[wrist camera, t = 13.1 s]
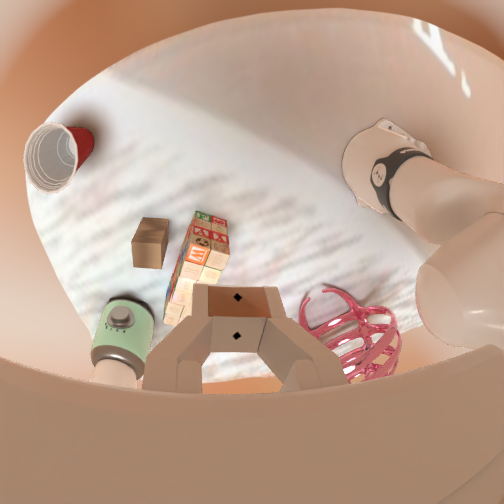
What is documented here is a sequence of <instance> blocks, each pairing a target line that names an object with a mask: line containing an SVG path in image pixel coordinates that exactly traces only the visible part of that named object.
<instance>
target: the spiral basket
mask: <svg viewBox="0 0 504 504" xmlns="http://www.w3.org/2000/svg"><path fill="white" fill-rule="evenodd" d="M322 292H323V293H326V292H333V293H336V294H338V295H339V296H341V297H342V298H343V299H344V300H345V301H346V302H347V303H348V305H349V306H350V308H351V311H350V312H348V313H346V314H343V315H341V316H339V317H336V318H334V319H332V320H330V321H328V322H327V323H325V324H323V325H321V326H320V327H318V328H317V329H315V330H312V331H311V330H310V329H309V327H308V324H307V321H306V315H305V309H306V305H307V303H308V302H309V301H310V297H308V298H306V299H305V301H304V302H303V304H302V306H301V308H300V313H299V323H300V326H301V327H303V328H304V329H305V330H306V331H308V332H309V333H310V334H311V335H312V336H314V337H315V338H316V339H317V338H318V337H320V336H321V335H323V334H324V333H326V332H328V331H329V330H331V329H333V328H335V327H337V326H339V325H341V324H344V323H346V322H348V321H351V320H357V321H358V323H359V326H358V328H356V329H354V330H351V331H349V332H347V333H344V334H342V335H340V336H338V337H336V338H335V339H333V340H331V341H329V342H328V343H326V344H325V346H326V347H327V348H329V349H330V350H331V351H332V350H333V349H335V348H336V347H338V346H340V345H342V344H344V343H346V342H348V341H351V340H353V339H355V338H359V337H362V338H363V340H364V345H363V346H362V347H360V348H357V349H354V350H352V351H350V352H348V353H346V354H344V355H342V356H340V357H339V359H340V362H341V364H342V367H343V369H344V372H345V374H346V377H347V379H348V382H349V384H350V383H351V382H350V380H351V379H353V378H355V377H357V376H359V375H361V374H365V379H364V380H362V381H367V380H372V379H377V378H381V377H386V376H390V375H393V374H394V372H395V370H396V367H397V364H398V356H399V353H400V351H401V344H402V341H401V340H402V339H401V334H400V332H399V330H398V329H397V319H396V317H395V315H394V313H393V312H392V311H391V310H390V309H389V308H387V307H384V306H369V307H361V306H360V305H359V304H358V303H357V302H356V301H355V300H354V299H353V298H352V297H351V296H350V295H349V294H347V293H346V292H344V291H342V290H339V289H335V288H326V289H323V290H322ZM374 314H384V315H388V316H390V317H391V322H390V325H389V324H369V323H368V321H367V316H369V315H374ZM375 333H384V334H383V336H382V337H381V338H380V339H379V340H378V341H377V342H376V343H373V342H372V335H373V334H375ZM394 337H395V338H396V339H397V341H398V343H397V347H396V349H395V348H394V347H392V346H390V345H389V344H390V343H391V341H392V339H393V338H394ZM381 353H382V354H386V355H388V356H390V358H389V359H388V360H387V362H386V363H385V364H384V365H380V364H374V363H372V361H373V360H374V359H376V358H377V357H378V356H379V355H380V354H381ZM392 366H393V367H392ZM391 367H392V369H391V372H390V373H389V375H388V370H389V369H390V368H391ZM370 373H373V374H372V375H370V376H369V374H370ZM368 376H369V377H368ZM362 381H360V382H362Z"/></svg>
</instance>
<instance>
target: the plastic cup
mask: <svg viewBox="0 0 504 504" xmlns="http://www.w3.org/2000/svg"><path fill="white" fill-rule="evenodd" d="M93 146H94V138H93V136H92V134H91V132H90V131H88V130H87V129H84V128H76V127H65V126H64V125H62V124H58V123H54V122H49V123H45V124H42V125H40V126H39V127H38V128H36V129H35V130H34V131H33V132H32V133H31V135H30V137H29V139H28V141H27V143H26V145H25V152H24V157H23V159H24V168H25V172H26V175H27V177H28V179H29V181H30V183H31V184H32V185H33V186H34V187H35V188H36V189H37V190H38V191H41V192H44V193H46V194H52V193H58V192H60V191H61V190H63V189H64V188H65V187H67V186H68V185H69V183H70V181H71V180H72V178H73V176H74V175H75V173H76V171H77V170H78V169H79V167H80V166H81V165H82V164H83V163H84V161H85V160H86V158H87V157H88V156H89V155H90V153H91V152H92V150H93Z"/></svg>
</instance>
